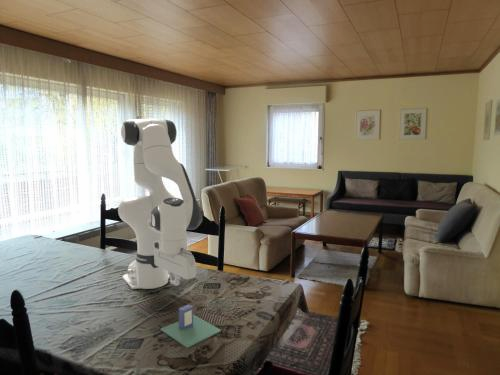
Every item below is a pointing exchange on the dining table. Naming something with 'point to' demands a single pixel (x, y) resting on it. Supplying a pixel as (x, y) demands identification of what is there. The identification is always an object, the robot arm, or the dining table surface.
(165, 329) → the mat
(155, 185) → the robot arm
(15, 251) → the dining table surface
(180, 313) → the block
